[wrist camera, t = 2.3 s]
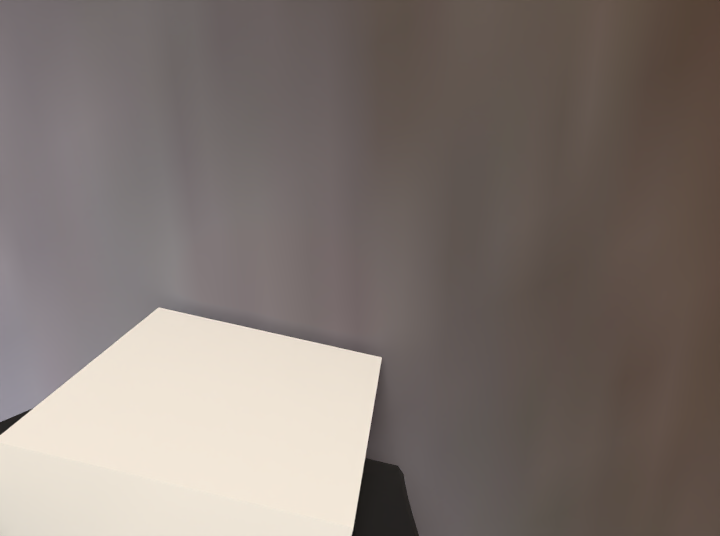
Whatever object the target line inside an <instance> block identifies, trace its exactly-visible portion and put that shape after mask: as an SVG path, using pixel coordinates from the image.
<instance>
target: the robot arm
mask: <svg viewBox="0 0 720 536" xmlns="http://www.w3.org/2000/svg"><path fill="white" fill-rule="evenodd" d="M31 410H32V409H31ZM31 410H28V411H26V412H24V413H21V414H19V415H16V416H14V417H12V418H9V419H7V420H5V421H2V422H0V435H1V434H2V433H4V432H5V431H6V430H7V429H9V428H10V427H11V426H12V425H14V424H15V423H16V422H17V421H19V420H20V419H21V418H22V417H24V416H25V415H26V414H27V413H28V412H30V411H31ZM352 536H419V535H418V531H417V528H416V525H415V521H414V518H413V515H412V511H411V507H410V504H409V500H408V496H407V491H406V487H405V482H404V475H403V473H402V471H401V470H400V468H399V467H398V466H396V465H392V464H387V463H383V462H379V461H374V460H370V459H366V458H365V462H364V468H363V474H362V480H361V486H360V492H359V497H358V503H357V509H356V515H355V521H354V527H353V532H352Z"/></svg>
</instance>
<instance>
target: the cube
mask: <svg viewBox="0 0 720 536" xmlns="http://www.w3.org/2000/svg"><path fill="white" fill-rule="evenodd" d="M381 360H382V357H377V356H373V355H368V354H364V353H359V352H355V351H351V350H346V349H342V348H337V347H333V346H328V345H324V344H319V343H315V342H310V341H306V340H301V339H297V338H293V337H288V336H284V335H279V334H275V333H270V332H266V331H261V330H257V329H252V328H248V327H243V326H239V325H235V324H230V323H226V322H221V321H217V320H212V319H208V318H203V317H199V316H194V315H190V314H185V313H181V312H177V311H172V310H168V309H163V308H157V309H156V310H155V311H154V312H152V313H151V314H150V315H149V316H148V317H146V318H145V319H144V320H143V321H141V322H140V323H139V324H138V325H136V326H135V327H134V328H133V329H131V330H130V331H129V332H128V333H126V334H125V335H124V336H123V337H121V338H120V339H119V340H118V341H117V342H115V343H114V344H113V345H112V346H110V347H109V348H108V349H107V350H105V351H104V352H103V353H102V354H100V355H99V356H98V357H97V358H95V359H94V360H93V361H92V362H90V363H89V364H88V365H87V366H86V367H84V368H83V369H82V370H81V371H79V372H78V373H77V374H76V375H74V376H73V377H72V378H71V379H69V380H68V381H67V382H66V383H64V384H63V385H62V386H61V387H59V388H58V389H57V390H56V391H55V392H53V393H52V394H51V395H50V396H48V397H47V398H46V399H45V400H43V401H42V402H41V403H40V404H38V405H37V406H36V407H35V408H33V409H32V410H31V411H30V412H28V413H27V414H26V415H25V416H24V417H22V418H21V419H20V420H19V421H17V422H16V423H15V424H14V425H12V426H11V427H10V428H9V429H7V430H6V431H5V432H4V433H2V434H1V435H0V536H352V532H353V527H354V521H355V515H356V509H357V503H358V497H359V492H360V486H361V480H362V474H363V468H364V462H365V456H366V450H367V444H368V438H369V432H370V426H371V420H372V414H373V408H374V402H375V396H376V390H377V384H378V378H379V372H380V366H381Z"/></svg>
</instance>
